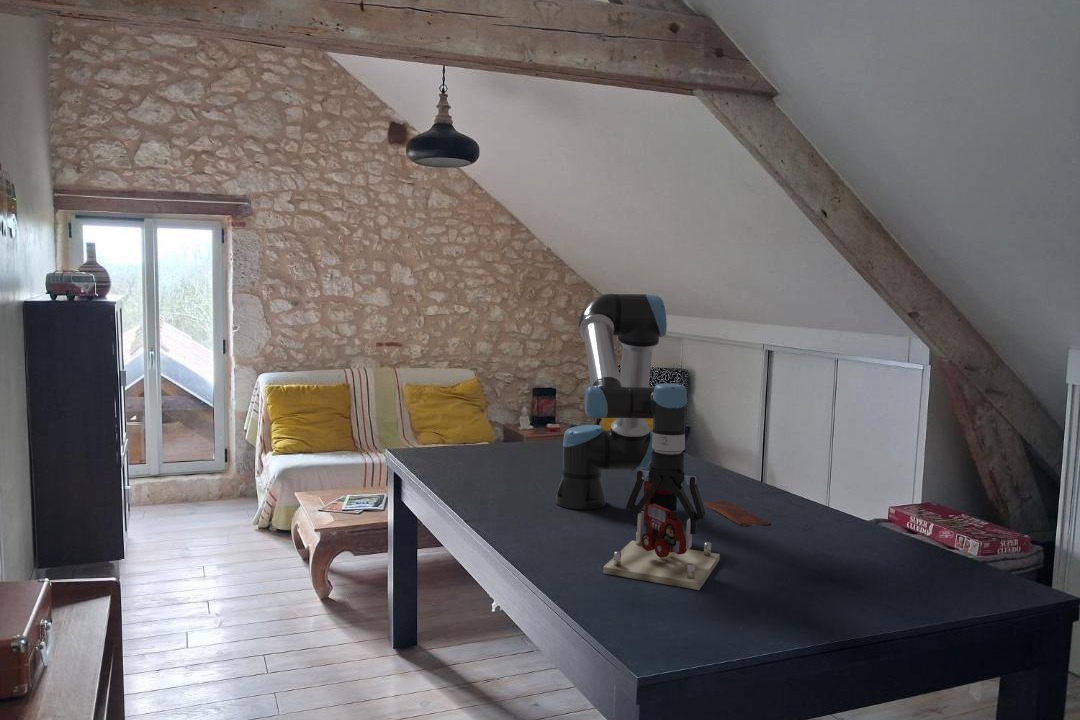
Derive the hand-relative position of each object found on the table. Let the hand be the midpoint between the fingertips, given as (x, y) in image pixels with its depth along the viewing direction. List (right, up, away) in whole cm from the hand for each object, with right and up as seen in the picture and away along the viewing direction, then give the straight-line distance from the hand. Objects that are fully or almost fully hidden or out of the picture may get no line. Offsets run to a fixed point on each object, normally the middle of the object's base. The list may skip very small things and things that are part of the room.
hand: (664, 543), depth 189 cm
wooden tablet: (+28, -3, +49) cm, 57 cm away
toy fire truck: (0, -2, 0) cm, 2 cm away
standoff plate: (0, -6, 0) cm, 6 cm away
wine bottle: (+2, -4, +22) cm, 22 cm away
